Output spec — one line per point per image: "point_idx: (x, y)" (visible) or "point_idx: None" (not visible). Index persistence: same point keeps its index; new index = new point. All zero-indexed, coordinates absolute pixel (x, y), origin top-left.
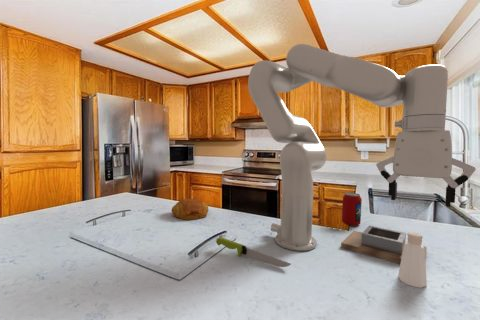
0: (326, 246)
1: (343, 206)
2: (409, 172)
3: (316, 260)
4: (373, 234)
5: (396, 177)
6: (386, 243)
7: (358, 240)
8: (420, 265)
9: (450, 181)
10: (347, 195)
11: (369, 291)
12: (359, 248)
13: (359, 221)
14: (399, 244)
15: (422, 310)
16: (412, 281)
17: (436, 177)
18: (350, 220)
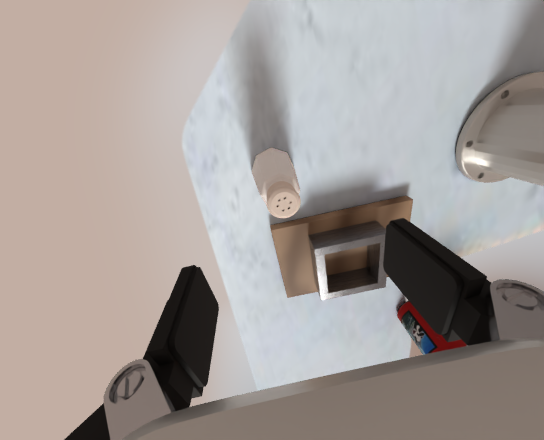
0: (433, 175)
1: None
2: (480, 398)
3: (439, 86)
4: (368, 273)
5: (506, 330)
6: (338, 238)
7: None
8: (260, 167)
9: (134, 410)
10: None
11: (314, 50)
12: (375, 206)
13: (401, 316)
14: (317, 245)
15: (229, 70)
16: (267, 151)
17: (198, 410)
18: None
